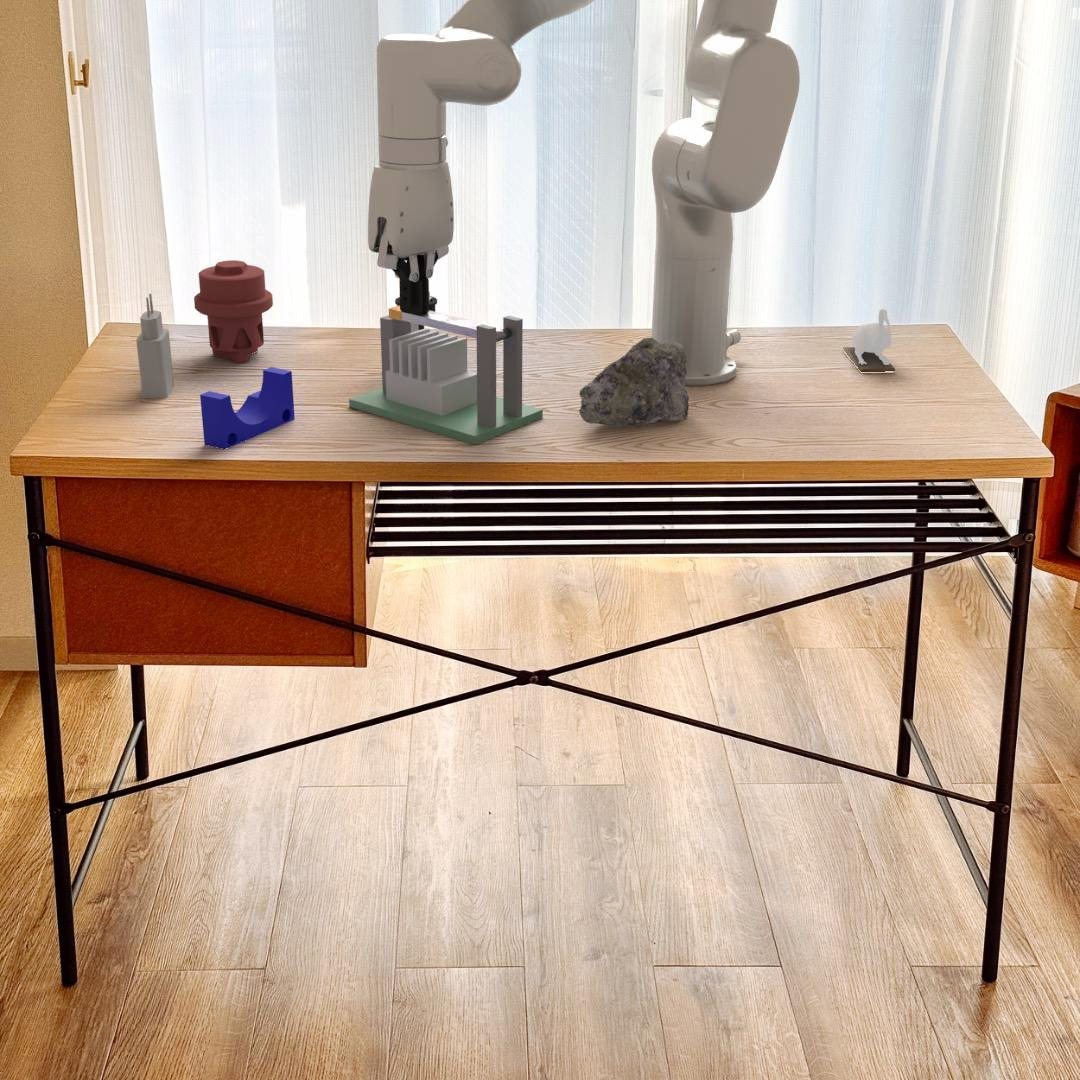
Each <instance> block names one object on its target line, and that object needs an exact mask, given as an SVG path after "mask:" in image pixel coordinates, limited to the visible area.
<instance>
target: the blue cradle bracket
mask: <svg viewBox="0 0 1080 1080" xmlns="http://www.w3.org/2000/svg"><path fill="white" fill-rule="evenodd" d="M293 386H294V385H293V372H292V370H290V369H289V370H287V369H283V368H278V367H273V366H271V367H268V368H265V369H263V370H262V383H261V388H260V390H259V391H256V392H254V393H251V394H249V395H248V396H246V399H245V401H244V402H243V404H242V405H241V407H240V408H239V409H238V410H236V411H235V410H234V407H233V405H232V400H231V395H229V394H224V393H219V392H215V391H211V390H208V391H207V392H204V393H201V394H199V399H200V409H201V410H200V411H201V421H202V431H203V432H202V433H203V441H204V442H203V443H204V446H208V445H209V447H212V446H213V447H212V448H216V447H218V448H217V449H220V448H223V449H222V450H224V449H226V448H228V449H230V448H232V447H231V446H233V447H234V445H235V446H236V444H237V445H239V444H241V442H242V443H244V442H246V441H248V440H250V438H251V439H252V438H255V437H257V435H258V436H260V435H262V434H265V433H266V432H269V431H270V430H271V431H272V430H273V429H275V428H277V427H280V426H283V425H285V424H286V423H287V424H288V423H289V422H291V421H294V420H295V404H294V403H295V401H294V389H293V388H294V387H293ZM245 440H246V441H245ZM238 443H239V444H238ZM229 447H230V448H229ZM226 450H227V449H226Z"/></svg>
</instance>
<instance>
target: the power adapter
mask: <svg viewBox="0 0 1080 1080" xmlns="http://www.w3.org/2000/svg"><path fill="white" fill-rule="evenodd" d="M148 295H149V297H148V296H147V297H146V298H145V299H146V300H145V301H146V311H143V313H142V314H141V316H140V317H139V318H140V319H139V320H140V329H141V331H140V333H139V335H138V336H137V337H136V339H135V341H136V351H137V357H138V359H137V360H138V361H137V362H138V368H139V377H140V387H141V397H142V398H143V399H147V398H151V399H166V398H168V397H170V394H171V392H172V390H173V389H174V388H173V387H175V382H174V370H173V369H174V368H173V361H172V350H171V339H170V338H171V337H170V330H169V329H168V328H164V327H163V317H162V311H159V310H155V309H154V304H153V299H152V297H153V296H152V293H149V294H148Z"/></svg>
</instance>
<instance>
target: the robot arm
mask: <svg viewBox="0 0 1080 1080" xmlns="http://www.w3.org/2000/svg"><path fill="white" fill-rule="evenodd" d="M594 1H595V0H467V1H466V2H465V3H464V4H463V5H462V6H460V8H459V9H458V10H456V12H455V13H454V14H453V15H452V16H451V18H450V19H448V21H447V22H446V23H445V24H444V25H443V26H442V27H441V28H440V29H439V31H438V32H437V33H436V35H429V34H423V33H422V34H421V33H396V34H388V35H386V36H383V37H381V38H380V40H379V42H378V44H377V46H376V47H377V48H376V83H377V84H376V87H377V89H376V90H377V93H376V94H377V125H378V126H377V128H378V129H377V131H378V132H377V133H378V137H377V138H378V140H377V141H378V164H376V165H374V166H373V172H372V175H371V181H370V187H369V195H368V196H369V197H368V199H369V200H368V215H367V217H368V218H367V219H368V220H367V244H368V249H369V250H370V251H371V252H372V253H375V254H377V253H378V255H377V260H376V261H377V263H376V264H377V267H379V268H382V269H386V270H391V271H393V273H394V276H395V278H396V279H399V282H398V284H399V286H398V287H399V297H400V310H401V311H402V312H407V313H411V314H415V315H421V314H422V313H428V312H429V291H430V279H432V277H433V276H434V268H435V265H436V264H437V262H438V260H440V259H442V258H443V257H445V256H447V255H448V254H449V253H450V248H449V246H450V244H452V241H453V239H454V231H455V229H454V228H455V216H454V215H455V213H454V209H455V208H454V195H453V187H452V177H451V172H450V167H449V162H448V161H447V147H448V144H449V141H448V138H447V103H454V104H455V103H456V104H463V105H464V104H465V105H471V106H472V105H473V106H483V107H484V106H486V107H487V106H493V105H498V104H499V103H502V102H504V101H505V100H508V99H509V98H510V97H511V96H512V95H513V94H514V93H515V91H516V90H517V89H518V87H519V85H520V82H521V77H522V64H521V61H520V57H519V55H518V54H517V52H516V50H515V49H514V48H513V46H514V45H516V43H517V42H518V41H520V40H521V39H522V38H523V37H525V36H526V35H527V34H529V33H530V32H532V31H533V30H535V29H537V28H539V27H540V26H542V25H544V24H547V23H549V22H551V21H553V20H556V19H557V20H558V19H560V18H563V17H565V16H569V15H571V14H574V13H576V12H577V11H579V10H581V9H584V8H585V7H586V6H588V5H590V4H592V3H593V2H594ZM777 4H778V0H703V3H702V7H701V11H700V13H699V18H698V22H697V24H696V29H695V33H694V37H693V39H692V44H691V48H690V51H689V55H688V59H687V63H686V67H685V85H686V88H687V90H688V93H689V94H690V96H692V98H693V99H695V100H696V101H697V102H698V103H700V104H702V105H704V106H707V107H709V108H712V109H714V110H717V112H716V117H715V119H714V120H711V119H708V118H704V117H686V118H682V119H679V120H676V121H675V122H672V123H671V124H670V125H669V126H667V127H666V128H665V129H664V130H663V132H661V134H660V136H659V137H658V138H657V140H656V142H655V144H654V149H653V151H652V152H653V153H652V159H651V171H652V172H651V175H652V182H653V185H652V186H653V192H654V202H655V226H656V227H655V251H654V252H655V253H654V268H653V269H654V270H653V293H652V294H653V295H652V317H651V318H652V319H651V338H653V339H654V340H656V341H657V342H658V343H660V344H661V343H670V342H677V343H680V344H681V345H682V346H683V347H684V349H685V352H686V363H685V364H686V370H687V374H686V376H685V386H706V385H714V384H715V385H716V384H719V383H723V382H726V381H729V380H731V379H733V378H734V377H735V376H736V373H737V363H736V362H735V360H733V359H732V358H730V357H729V356H727V354H728V353H727V350H728V349H729V348H730V347H732V346H734V345H737V344H738V343H740V342H741V340H742V339H741V338H742V337H741V333H740V331H739V330H737V329H731V330H730V329H729V330H728V328H727V327H728V313H729V312H728V311H729V297H730V283H731V280H730V279H731V268H732V267H731V265H732V253H733V243H734V242H733V240H734V239H733V238H734V237H733V236H734V235H733V230H734V229H733V217H732V214H736V213H742V212H745V211H748V210H750V209H753V207H756V205H757V204H758V203H759V202H760V201H761V200H763V198H764V197H765V195H766V194H767V193H768V191H769V189H770V186H771V184H772V183H773V180H774V177H775V175H776V173H777V169H778V166H779V163H780V160H781V156H782V152H783V150H784V145H785V142H786V139H787V136H788V132H789V129H790V126H791V121H792V119H793V115H794V111H795V108H796V105H797V99H798V96H799V92H800V91H799V90H800V83H801V81H800V78H801V77H800V76H801V75H800V66H799V62H798V59H797V56H796V54H795V52H794V50H793V49H792V47H791V45H790V44H789V43H788V42H786V40H784V38H782V37H780V36H778V35H776V34H773V33H771V30H772V27H773V21H774V18H775V13H776V8H777Z"/></svg>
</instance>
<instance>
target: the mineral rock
mask: <svg viewBox="0 0 1080 1080" xmlns="http://www.w3.org/2000/svg"><path fill="white" fill-rule="evenodd" d="M685 363H686V352H685V349H684V347H683V346H682V345H681V344H680V343H677V342H670V343H661V344H660V343H658V342H657V341H656V340H654V339H653V338H652V337H645V338H642V339H641V340H640V341H638V342H637V343H636V344H633V345H632V346H631V348H630V349H629V350H628V351H627V352H626V353H625V355H623V356H621V357H620V358H618V360H615V361H613V362H611V363H610V364H608V365H607V366H605V367H604V369H603V370H602V371H601V372H600V373H598V374H597V375H596V376H595V377H594V378H593V379H592V381H591V382H588V384H586V385H585V386H583V387H581V389H580V390H579V393H578V395H579V397H580V398H581V405H580V409H579V415H580V416H581V419H582V420H583V421H585V423H588V424H596V425H602V426H607V427H608V426H616V427H624V428H625V427H628V426H639V425H646V424H653V423H655V422H657V423H662V422H674V421H675V422H677V421H678V422H680V421H683V420H684V419H685V420H686V419H687V418H688V416H689V408H690V407H689V406H690V403H689V400H690V397H689V393H688V392H689V391H688V390H687V388H686V385H685V376H686V374H687V370H686V364H685Z"/></svg>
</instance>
